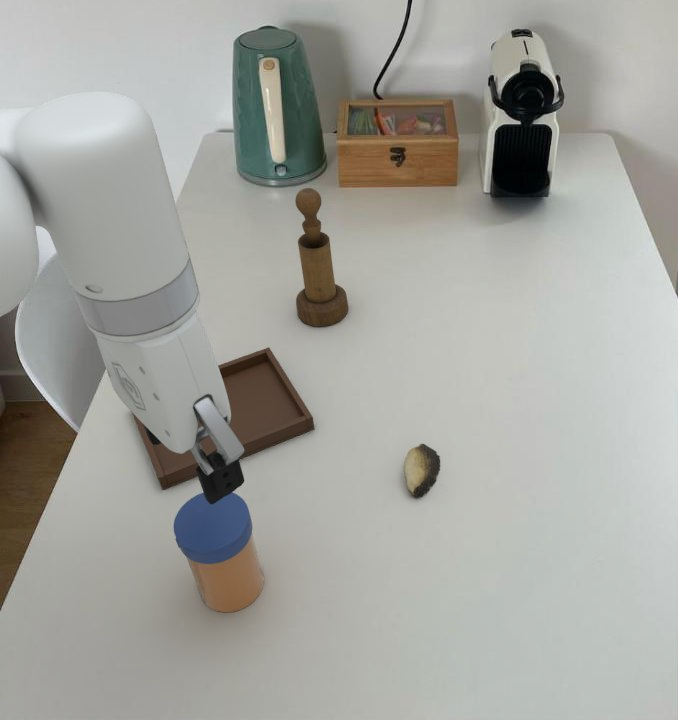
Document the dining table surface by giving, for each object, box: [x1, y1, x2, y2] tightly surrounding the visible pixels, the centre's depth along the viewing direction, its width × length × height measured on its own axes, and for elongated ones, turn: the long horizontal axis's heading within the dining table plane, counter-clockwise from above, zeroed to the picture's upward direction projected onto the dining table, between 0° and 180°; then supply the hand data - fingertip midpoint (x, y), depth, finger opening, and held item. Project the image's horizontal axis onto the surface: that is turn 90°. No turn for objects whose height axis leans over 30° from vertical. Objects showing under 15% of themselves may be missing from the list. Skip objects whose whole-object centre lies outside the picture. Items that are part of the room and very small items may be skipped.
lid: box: [173, 492, 253, 564], centre depth 70 cm, size 6×6×2 cm
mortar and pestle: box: [295, 187, 349, 327], centre depth 100 cm, size 7×6×18 cm
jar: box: [185, 533, 265, 613], centre depth 73 cm, size 6×6×10 cm
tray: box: [131, 347, 315, 491], centre depth 92 cm, size 17×13×2 cm
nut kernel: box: [403, 443, 441, 498], centre depth 85 cm, size 6×5×3 cm
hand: (196, 461), depth 65 cm, fingers open, 7 cm apart
